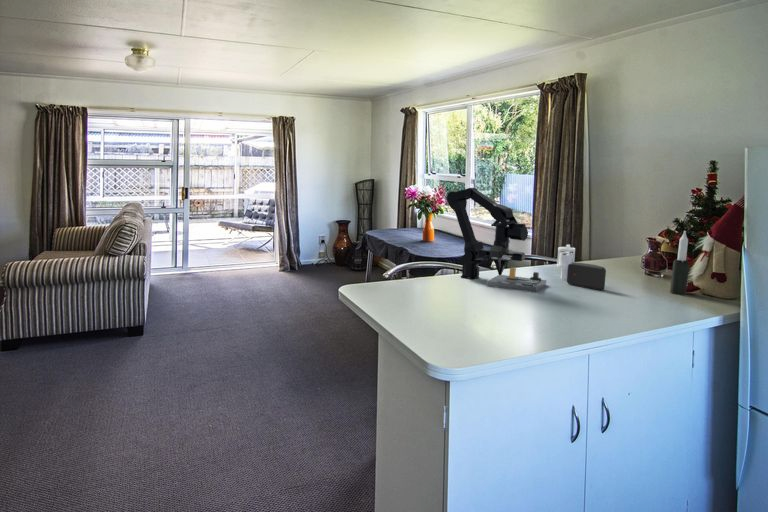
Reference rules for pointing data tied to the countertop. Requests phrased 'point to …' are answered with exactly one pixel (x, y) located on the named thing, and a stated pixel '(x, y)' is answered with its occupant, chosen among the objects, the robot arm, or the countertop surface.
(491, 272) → the countertop surface
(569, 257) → the white stepped cylinder
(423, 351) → the countertop surface
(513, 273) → the block
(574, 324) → the countertop surface
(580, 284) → the dark rounded block
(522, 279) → the breaker panel
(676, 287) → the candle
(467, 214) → the robot arm
